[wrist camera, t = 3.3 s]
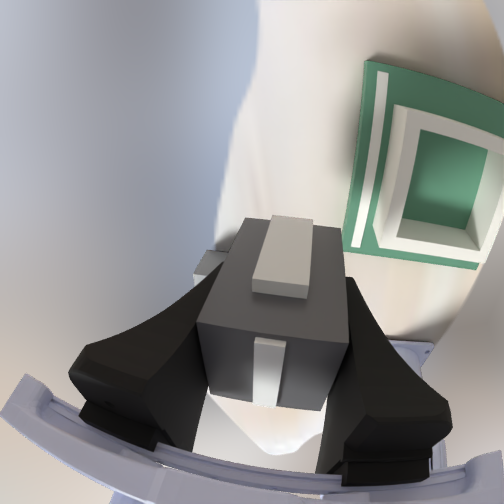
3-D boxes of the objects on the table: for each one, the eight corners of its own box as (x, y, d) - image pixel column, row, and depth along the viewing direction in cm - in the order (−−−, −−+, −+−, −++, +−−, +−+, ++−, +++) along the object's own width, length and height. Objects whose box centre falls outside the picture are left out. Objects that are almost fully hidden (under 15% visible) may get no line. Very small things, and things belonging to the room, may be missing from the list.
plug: (326, 300, 14) (319, 415, 9) (245, 290, 15) (208, 398, 10) (342, 217, 12) (353, 336, 7) (245, 206, 12) (191, 313, 7)
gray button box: (280, 317, 25) (274, 349, 22) (211, 306, 26) (199, 335, 23) (289, 237, 20) (283, 266, 18) (205, 227, 21) (187, 253, 19)
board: (471, 262, 18) (488, 292, 15) (340, 243, 20) (342, 275, 17) (515, 110, 11) (546, 122, 8) (364, 61, 13) (376, 57, 10)
